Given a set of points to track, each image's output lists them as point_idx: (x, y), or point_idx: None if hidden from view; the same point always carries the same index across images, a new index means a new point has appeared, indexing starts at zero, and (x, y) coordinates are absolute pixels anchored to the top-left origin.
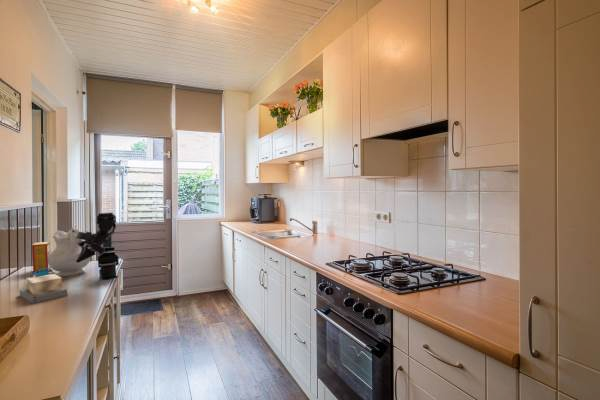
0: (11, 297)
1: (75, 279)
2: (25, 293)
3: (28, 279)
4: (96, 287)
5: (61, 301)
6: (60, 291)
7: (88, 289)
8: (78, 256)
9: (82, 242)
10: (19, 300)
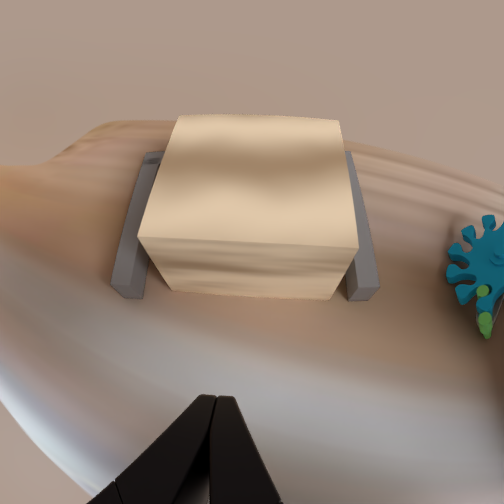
0: None
1: (472, 436)
2: None
3: (303, 118)
4: None
5: (65, 247)
6: (118, 253)
7: (130, 419)
8: (261, 463)
9: None
10: None
